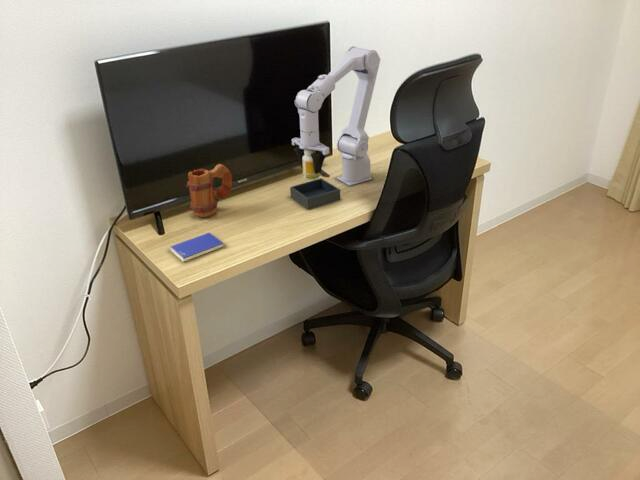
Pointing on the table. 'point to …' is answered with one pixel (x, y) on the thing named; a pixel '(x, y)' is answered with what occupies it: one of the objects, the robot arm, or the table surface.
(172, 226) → the table surface
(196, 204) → the mug
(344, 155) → the robot arm
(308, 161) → the supplement bottle
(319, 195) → the bin
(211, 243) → the hard drive
